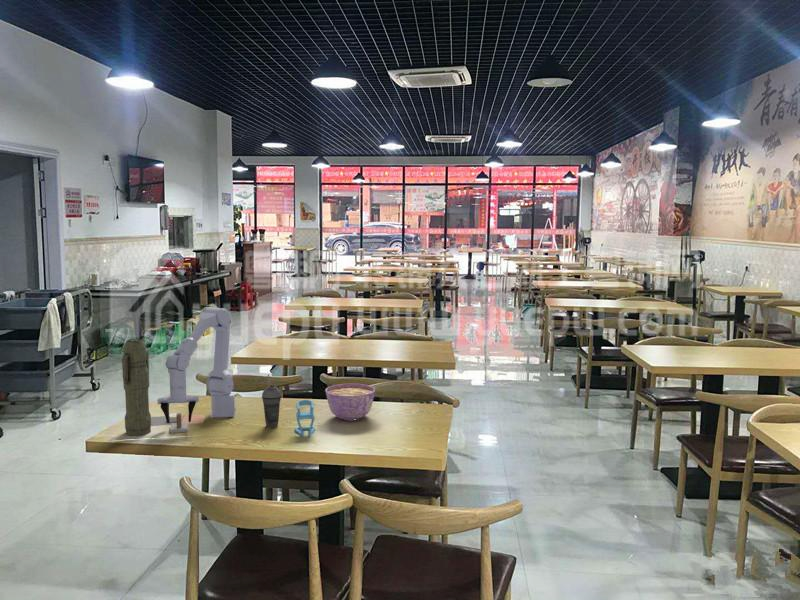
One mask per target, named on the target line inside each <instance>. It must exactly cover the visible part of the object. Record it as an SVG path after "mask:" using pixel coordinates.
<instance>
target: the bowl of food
mask: <svg viewBox="0 0 800 600" xmlns="http://www.w3.org/2000/svg"><path fill="white" fill-rule="evenodd" d="M324 391H325V394H326V395H325V396H326V399H327V403H328V407H329V410H330V412H331V413H332V415H334V416H335V417H337V418H339V419H341V420H342V419H344V420H343V421H347V420H353V421H355V420H354V419H358V418H360V419H361V418H363V417H365V416H367V415H368V414H369V413H370V411H371V409H372V405H373V402H374V398H375V394H376V393H375V392H376V388H375V387H374V386H371V385H368V384H363V383H362V384H361V383H340V384H333V385H331V386H328V387H326V388H325V390H324ZM358 420H359V419H358Z"/></svg>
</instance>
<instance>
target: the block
mask: <svg viewBox="0 0 800 600" xmlns="http://www.w3.org/2000/svg"><path fill="white" fill-rule="evenodd" d="M176 415H177V413H175V412H174V413H169V417H170V422H177V419H176Z"/></svg>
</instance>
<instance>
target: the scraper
mask: <svg viewBox="0 0 800 600" xmlns="http://www.w3.org/2000/svg"><path fill="white" fill-rule="evenodd" d="M182 415H183V413H182V412H178V413H177V415H176V419H177V423H172V424H171V425H170V429H169V434H173V433H187V432H188V430H189V424H188V422H185V423H182Z"/></svg>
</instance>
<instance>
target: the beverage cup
mask: <svg viewBox="0 0 800 600" xmlns="http://www.w3.org/2000/svg"><path fill="white" fill-rule="evenodd" d="M267 381H268V385H267V387H266V388H265V389H264V390H263V391H262V395H261V399H262V403H263V410H264V411H263V412H264V420H265V422H264V423H265V427H266V428H269V429H273V428H276V427H278V426H279V418H280V405H281V404H280V403H281V399H282V398H281V397H282V395H281V390H280V389H279V388H278V387H277V386H275V385H271V382H270V374H267Z"/></svg>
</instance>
